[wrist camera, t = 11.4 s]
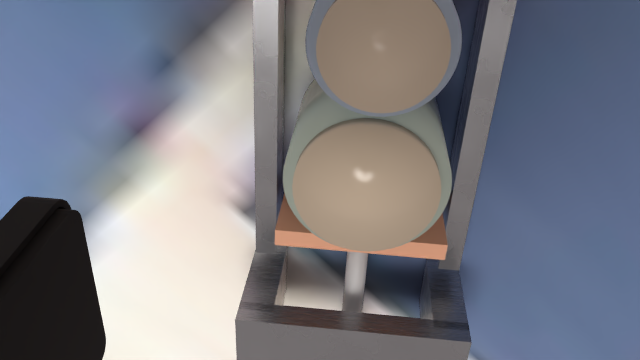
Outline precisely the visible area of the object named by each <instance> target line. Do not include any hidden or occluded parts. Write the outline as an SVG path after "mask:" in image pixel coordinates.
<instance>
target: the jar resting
mask: <svg viewBox="0 0 640 360" xmlns="http://www.w3.org/2000/svg"><path fill="white" fill-rule="evenodd" d="M451 186H452V172H451V167H450V162H449V157H448V152H447V147H446V143H445V138H444V133H443V128H442V123H441V118H440V113H439V108H438V104H437V101H436V98H435V97H434V98H433V99H432V100H430V101H429V102H427V103H426V104H424V105H423V106H421V107H419V108H417V109H415V110H413V111H410V112H407V113H404V114H400V115H396V116H387V117H375V116H368V115H363V114H360V113H356V112H354V111H351V110H349V109H347V108H345V107H343V106H341V105H339V104H338V103H337V102H335V101H334V100H332V99H331V98H330V97H329V96H328V95H327V94H326V93H325V92H324V91H323V89H322V88H321V87H320V86H319V84H318V83H317V81H316V80H315V79H314V81H313V82H312V83H311V84H310V86H309V87H308V89H307V91H306V93H305V95H304V97H303V100H302V102H301V106H300V110H299V113H298V117H297V120H296V124H295V128H294V131H293V135H292V138H291V142H290V145H289V149H288V153H287V156H286V160H285V164H284V168H283V188H284V192H285V196H286V199H287V202H288V204H289V206H290V208H291V210H292V212H293V213H294V215H295V216H296V217H297V219H298V220H299V221H300V222H301V223H302V224H303V226H304V227H305V228H307V229H308V230H309V231H310V232H311V233H313V234H314V235H316V236H317V237H319V238H320V239H322V240H324V241H326V242H328V243H330V244H333V245H336V246H339V247H342V248H346V249H350V250H356V251H380V250H386V249H391V248H394V247H398V246H401V245H403V244H406V243H408V242H410V241H412V240H414V239H416V238H418V237H419V236H421V235H422V234H423V233H425V232H426V231H427V230H428V229H429V228H430V227H431V226H433V225H434V223H435V222H436V221H437V220H438V219H439V217H440V216H441V214H442V213H443V211H444V209H445V207H446V205H447V203H448V200H449V197H450V193H451Z"/></svg>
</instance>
